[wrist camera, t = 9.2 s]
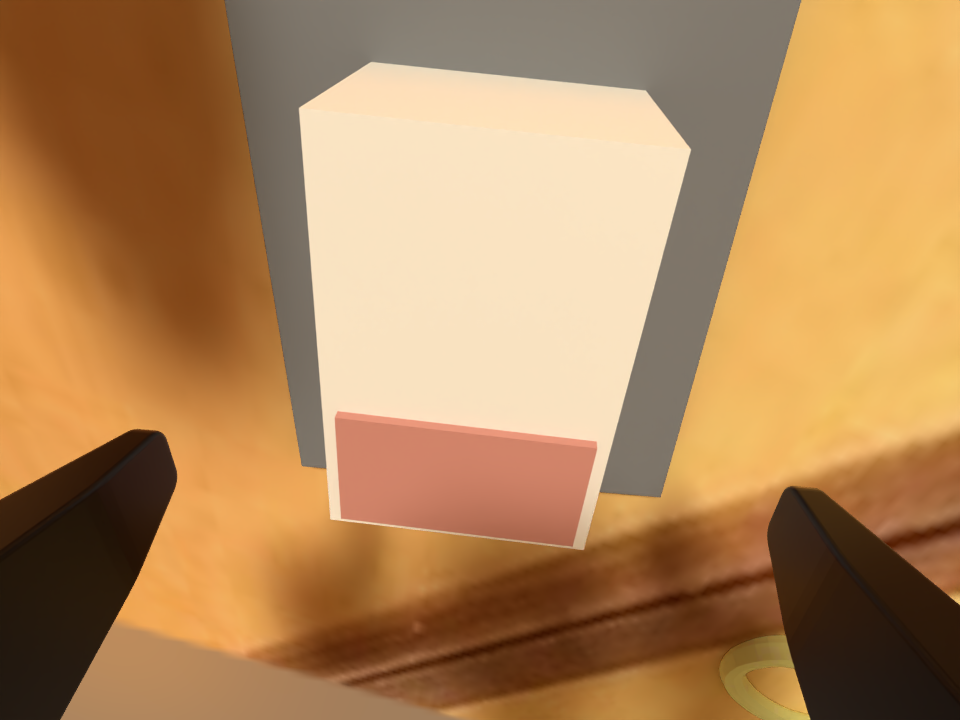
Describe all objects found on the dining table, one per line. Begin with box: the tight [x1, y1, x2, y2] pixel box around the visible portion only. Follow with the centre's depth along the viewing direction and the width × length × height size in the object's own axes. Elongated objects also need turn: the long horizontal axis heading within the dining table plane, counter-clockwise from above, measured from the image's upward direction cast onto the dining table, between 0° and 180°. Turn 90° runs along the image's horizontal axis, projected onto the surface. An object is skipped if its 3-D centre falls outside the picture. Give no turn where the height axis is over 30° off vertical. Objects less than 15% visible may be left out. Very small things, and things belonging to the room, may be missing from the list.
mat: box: [225, 0, 801, 497], centre depth 15 cm, size 14×11×1 cm
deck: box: [299, 62, 691, 550], centre depth 13 cm, size 6×9×5 cm, turn 175°
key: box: [719, 635, 810, 720], centre depth 22 cm, size 7×12×2 cm, turn 157°
